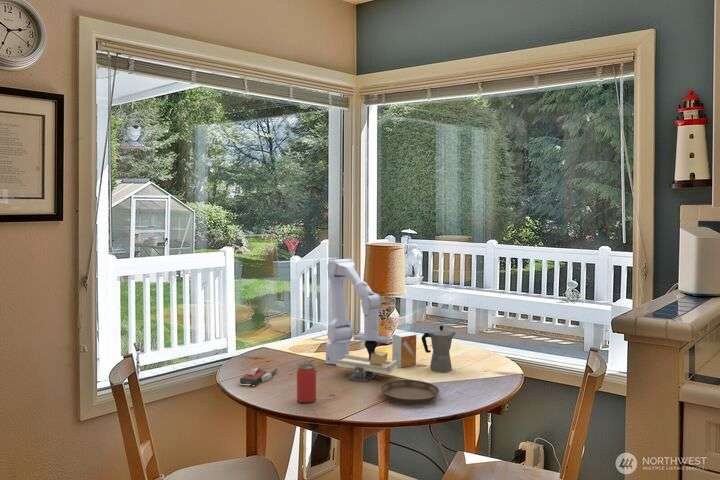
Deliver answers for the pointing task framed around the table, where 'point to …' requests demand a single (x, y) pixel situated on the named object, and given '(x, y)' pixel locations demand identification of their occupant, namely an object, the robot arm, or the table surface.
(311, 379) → the beer can
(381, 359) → the brass block
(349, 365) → the beam
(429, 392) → the plant saucer
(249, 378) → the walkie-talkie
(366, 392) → the table surface
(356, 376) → the pivot stand
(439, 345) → the coffeepot
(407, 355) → the small box
